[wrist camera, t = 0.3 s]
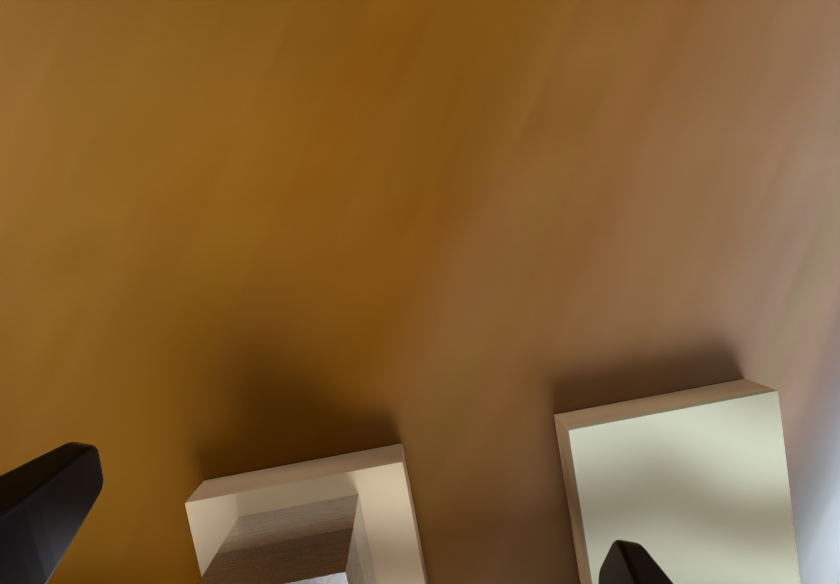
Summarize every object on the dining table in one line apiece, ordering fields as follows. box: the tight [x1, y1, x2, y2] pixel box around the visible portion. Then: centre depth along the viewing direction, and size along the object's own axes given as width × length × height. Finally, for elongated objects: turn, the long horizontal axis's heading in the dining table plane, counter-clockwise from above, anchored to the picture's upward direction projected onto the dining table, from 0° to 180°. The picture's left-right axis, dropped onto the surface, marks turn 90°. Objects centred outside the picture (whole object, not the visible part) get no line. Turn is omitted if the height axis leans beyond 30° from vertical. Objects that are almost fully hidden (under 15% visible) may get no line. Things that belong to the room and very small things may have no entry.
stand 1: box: [185, 443, 428, 584], centre depth 22 cm, size 9×9×2 cm
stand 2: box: [554, 379, 801, 584], centre depth 22 cm, size 9×9×2 cm
